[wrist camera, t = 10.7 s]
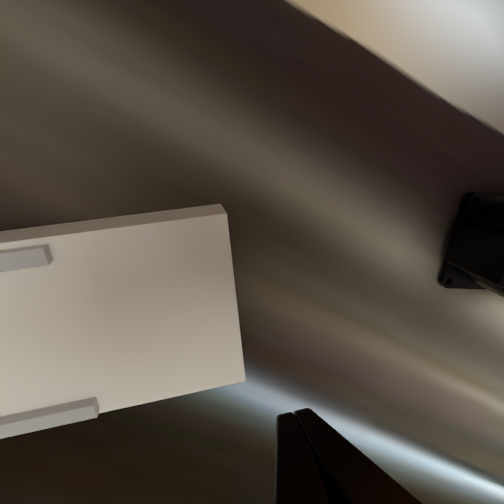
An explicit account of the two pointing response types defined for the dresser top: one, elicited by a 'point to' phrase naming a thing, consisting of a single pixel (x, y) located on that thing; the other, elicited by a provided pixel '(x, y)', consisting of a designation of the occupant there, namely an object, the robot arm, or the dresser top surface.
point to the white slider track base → (115, 315)
